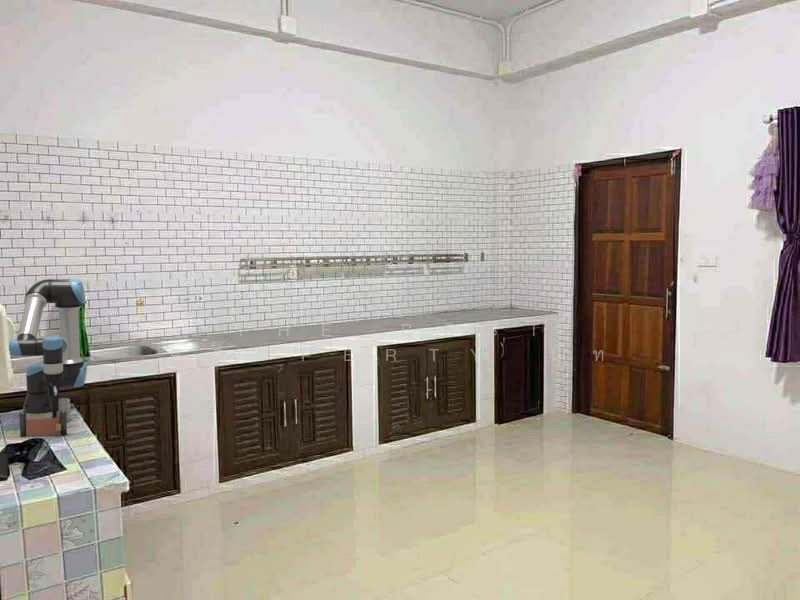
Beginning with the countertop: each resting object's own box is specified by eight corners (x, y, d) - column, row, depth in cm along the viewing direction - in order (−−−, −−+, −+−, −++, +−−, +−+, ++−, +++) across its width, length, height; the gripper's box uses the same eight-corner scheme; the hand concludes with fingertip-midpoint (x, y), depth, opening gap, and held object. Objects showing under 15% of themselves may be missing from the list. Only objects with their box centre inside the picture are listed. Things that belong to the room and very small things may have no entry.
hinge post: (21, 435, 282) (20, 411, 281) (28, 435, 282) (27, 411, 281) (18, 437, 279) (17, 412, 278) (25, 436, 280) (24, 412, 279)
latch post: (58, 434, 285) (58, 410, 284) (68, 433, 285) (67, 410, 284) (56, 436, 281) (55, 412, 280) (65, 436, 282) (65, 412, 281)
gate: (26, 435, 280) (25, 418, 280) (27, 434, 282) (27, 417, 281) (59, 434, 283) (59, 417, 282) (61, 433, 284) (60, 416, 283)
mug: (71, 417, 310) (70, 392, 309) (72, 424, 300) (72, 398, 299) (53, 419, 306) (52, 394, 305) (53, 426, 296) (53, 400, 295)
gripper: (41, 370, 286) (42, 423, 288) (45, 376, 276) (46, 430, 278) (60, 369, 290) (61, 421, 293) (65, 374, 280) (66, 428, 282)
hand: (54, 425), depth 285 cm, fingers closed
